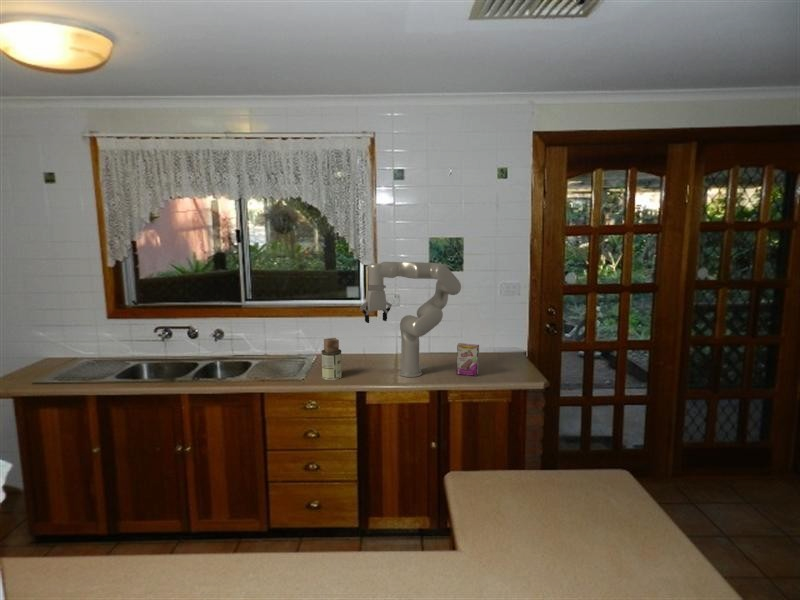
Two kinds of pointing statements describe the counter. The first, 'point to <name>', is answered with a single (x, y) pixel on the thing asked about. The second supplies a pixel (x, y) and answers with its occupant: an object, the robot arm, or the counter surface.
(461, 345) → the candy bar box
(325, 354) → the coffee can
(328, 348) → the walnut cube
